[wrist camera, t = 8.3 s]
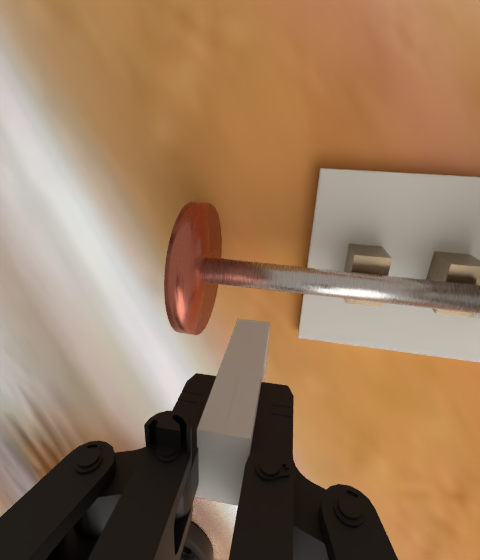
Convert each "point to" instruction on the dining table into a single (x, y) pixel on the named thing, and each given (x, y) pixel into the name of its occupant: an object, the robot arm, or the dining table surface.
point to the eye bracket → (440, 269)
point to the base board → (393, 256)
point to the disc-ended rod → (278, 277)
